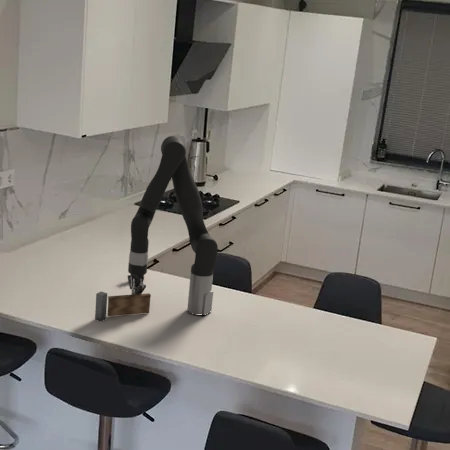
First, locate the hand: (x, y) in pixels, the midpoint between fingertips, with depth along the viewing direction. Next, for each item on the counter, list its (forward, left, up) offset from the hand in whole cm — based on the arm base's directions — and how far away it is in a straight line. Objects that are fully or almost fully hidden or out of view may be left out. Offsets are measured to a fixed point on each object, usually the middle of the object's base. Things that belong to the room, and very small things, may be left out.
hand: (135, 301), depth 282 cm
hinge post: (+5, +16, -4) cm, 17 cm away
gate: (-1, +5, -4) cm, 6 cm away
